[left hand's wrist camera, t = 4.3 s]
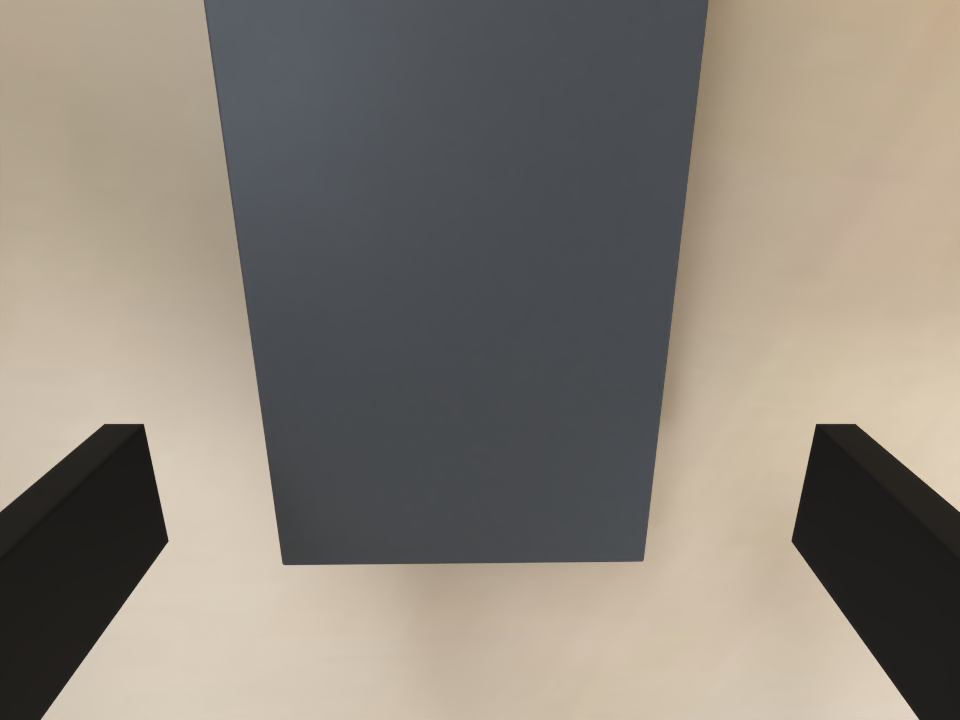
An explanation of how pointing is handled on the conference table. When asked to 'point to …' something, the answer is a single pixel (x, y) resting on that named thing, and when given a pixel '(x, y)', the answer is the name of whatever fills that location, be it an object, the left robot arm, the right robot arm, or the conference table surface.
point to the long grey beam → (459, 266)
